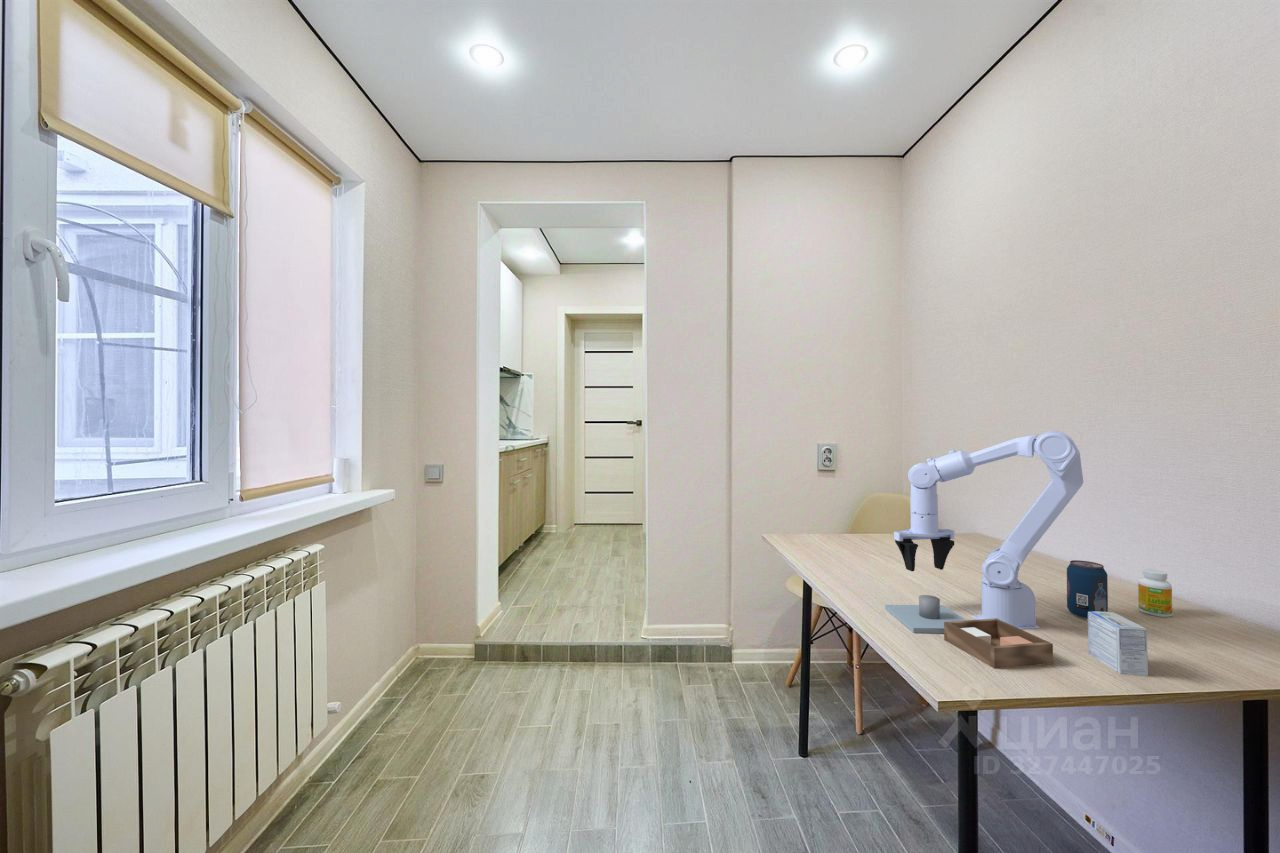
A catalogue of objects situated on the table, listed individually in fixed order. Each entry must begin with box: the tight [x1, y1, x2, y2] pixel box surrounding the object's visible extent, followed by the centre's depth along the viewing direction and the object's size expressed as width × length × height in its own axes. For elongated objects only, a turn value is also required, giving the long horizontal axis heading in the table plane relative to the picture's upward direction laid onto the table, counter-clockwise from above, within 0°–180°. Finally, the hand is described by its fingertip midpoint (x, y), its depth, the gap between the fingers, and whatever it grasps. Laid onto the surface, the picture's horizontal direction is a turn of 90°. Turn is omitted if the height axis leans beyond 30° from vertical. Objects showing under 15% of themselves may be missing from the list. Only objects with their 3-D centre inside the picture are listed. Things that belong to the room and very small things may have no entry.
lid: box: [884, 594, 967, 634], centre depth 109 cm, size 14×14×6 cm
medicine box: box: [1087, 611, 1149, 677], centre depth 89 cm, size 8×4×9 cm, turn 168°
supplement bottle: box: [1137, 568, 1173, 618], centre depth 113 cm, size 5×5×10 cm
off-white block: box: [960, 627, 991, 644], centre depth 97 cm, size 4×4×3 cm
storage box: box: [943, 618, 1054, 670], centre depth 94 cm, size 12×12×4 cm
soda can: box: [1066, 559, 1109, 621], centre depth 112 cm, size 7×7×12 cm
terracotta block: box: [1000, 636, 1032, 646], centre depth 92 cm, size 4×4×3 cm
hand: (924, 569), depth 118 cm, fingers open, 7 cm apart
